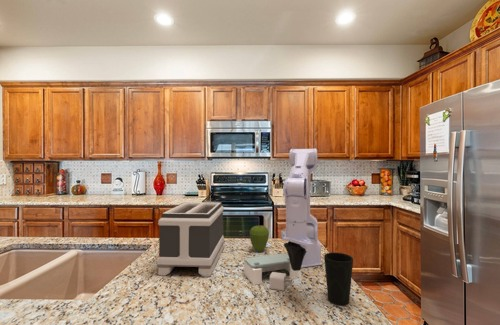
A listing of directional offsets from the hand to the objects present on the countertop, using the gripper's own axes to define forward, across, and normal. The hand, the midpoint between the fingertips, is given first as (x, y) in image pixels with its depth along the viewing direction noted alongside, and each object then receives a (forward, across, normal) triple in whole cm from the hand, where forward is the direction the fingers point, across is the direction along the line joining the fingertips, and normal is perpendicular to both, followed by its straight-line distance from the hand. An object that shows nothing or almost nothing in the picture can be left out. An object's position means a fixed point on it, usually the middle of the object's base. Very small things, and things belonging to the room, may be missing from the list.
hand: (296, 269), depth 72 cm
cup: (+9, +4, +11) cm, 15 cm away
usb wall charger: (+9, -8, 0) cm, 12 cm away
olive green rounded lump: (+8, -42, +6) cm, 43 cm away
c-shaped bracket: (+8, -17, 0) cm, 19 cm away
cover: (+4, -18, 0) cm, 18 cm away
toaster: (+9, -42, -21) cm, 47 cm away
